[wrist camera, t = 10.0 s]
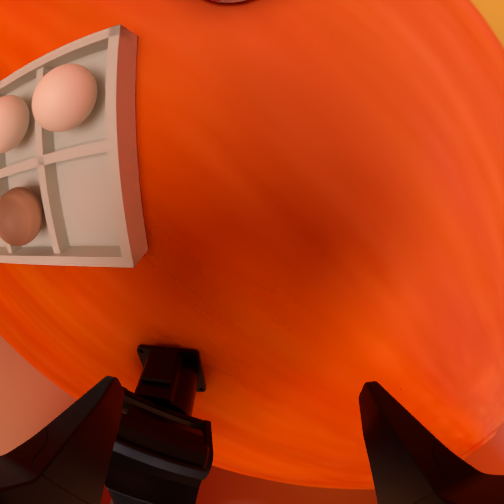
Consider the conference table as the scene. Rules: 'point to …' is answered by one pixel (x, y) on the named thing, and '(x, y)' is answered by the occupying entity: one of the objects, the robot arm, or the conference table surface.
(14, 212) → the egg brown
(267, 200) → the conference table surface
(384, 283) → the conference table surface
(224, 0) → the beverage can
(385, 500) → the robot arm
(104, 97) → the egg tray
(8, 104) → the cream egg
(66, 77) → the cream egg
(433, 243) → the conference table surface
